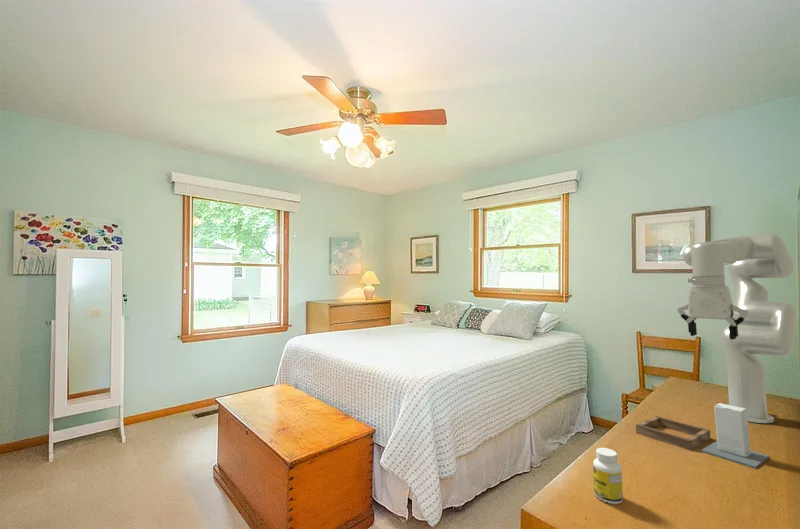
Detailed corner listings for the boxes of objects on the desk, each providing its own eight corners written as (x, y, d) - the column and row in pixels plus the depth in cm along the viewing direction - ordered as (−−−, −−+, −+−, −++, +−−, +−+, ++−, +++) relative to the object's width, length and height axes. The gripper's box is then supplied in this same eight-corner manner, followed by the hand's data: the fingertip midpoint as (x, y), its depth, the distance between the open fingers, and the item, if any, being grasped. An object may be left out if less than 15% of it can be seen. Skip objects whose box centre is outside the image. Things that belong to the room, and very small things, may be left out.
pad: (716, 442, 106) (716, 440, 106) (769, 457, 97) (769, 455, 97) (701, 451, 100) (701, 449, 100) (755, 468, 91) (755, 466, 91)
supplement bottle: (588, 491, 81) (587, 446, 82) (611, 490, 82) (610, 445, 82) (604, 506, 76) (602, 457, 77) (628, 504, 76) (627, 456, 77)
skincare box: (751, 454, 97) (748, 408, 98) (745, 458, 95) (743, 411, 96) (721, 445, 103) (719, 402, 103) (716, 449, 100) (713, 405, 101)
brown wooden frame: (657, 423, 120) (657, 416, 120) (710, 438, 108) (709, 430, 109) (636, 433, 113) (635, 424, 113) (690, 450, 101) (690, 441, 101)
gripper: (671, 282, 118) (674, 335, 118) (741, 282, 104) (746, 342, 103) (680, 281, 123) (684, 332, 122) (749, 281, 108) (754, 338, 108)
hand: (712, 337), depth 113 cm, fingers open, 9 cm apart
